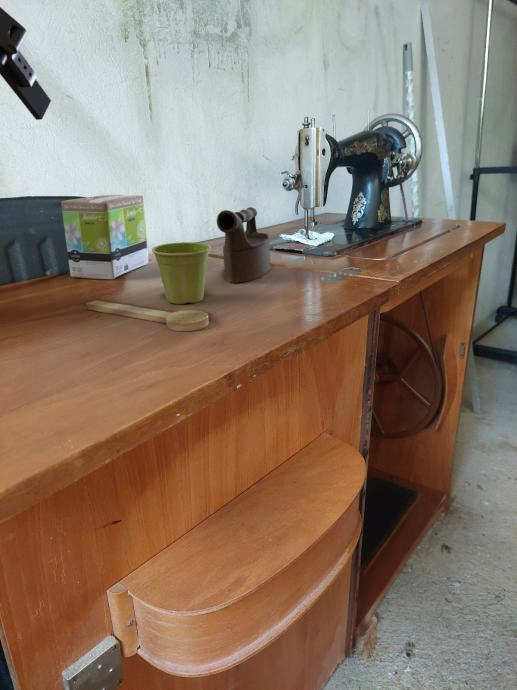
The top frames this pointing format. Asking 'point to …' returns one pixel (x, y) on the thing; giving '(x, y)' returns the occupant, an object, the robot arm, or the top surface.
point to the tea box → (105, 235)
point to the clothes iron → (243, 246)
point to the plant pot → (182, 270)
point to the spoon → (155, 315)
